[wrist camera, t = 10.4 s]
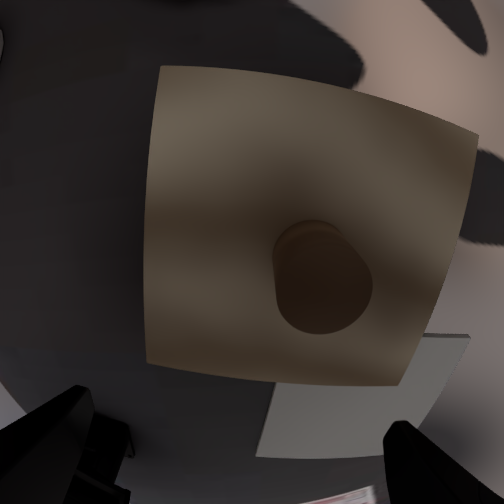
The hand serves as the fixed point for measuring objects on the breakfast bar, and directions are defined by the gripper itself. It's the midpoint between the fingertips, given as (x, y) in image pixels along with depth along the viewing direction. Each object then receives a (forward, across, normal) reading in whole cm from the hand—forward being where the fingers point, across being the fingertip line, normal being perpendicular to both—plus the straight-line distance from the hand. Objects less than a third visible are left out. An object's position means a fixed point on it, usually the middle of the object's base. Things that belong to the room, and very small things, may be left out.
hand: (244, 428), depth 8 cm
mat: (+13, -11, +12) cm, 21 cm away
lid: (+8, -2, -3) cm, 9 cm away
